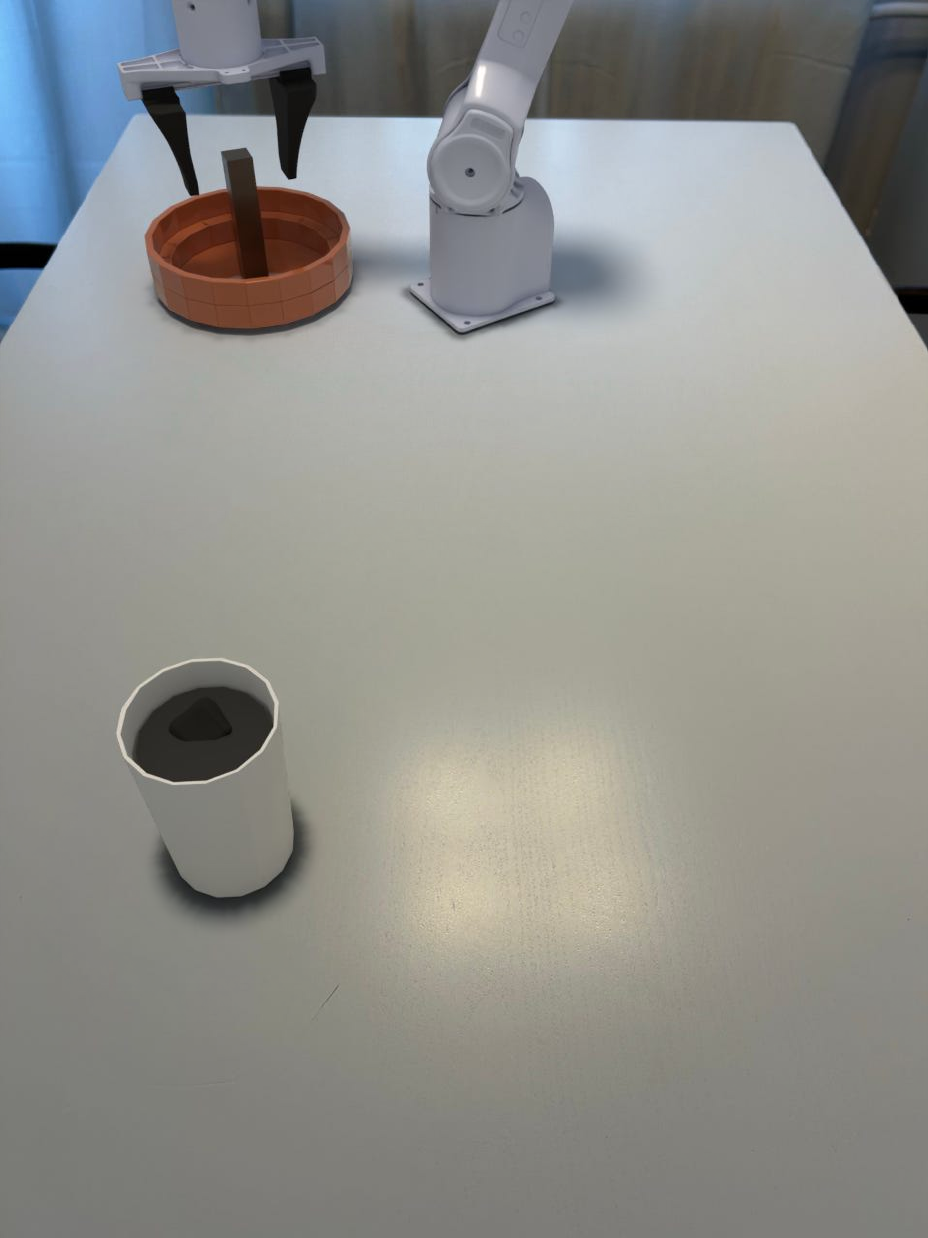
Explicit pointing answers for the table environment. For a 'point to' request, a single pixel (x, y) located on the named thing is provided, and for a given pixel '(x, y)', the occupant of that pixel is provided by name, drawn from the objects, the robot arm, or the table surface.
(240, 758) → the white cup
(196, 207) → the bowl
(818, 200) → the table surface
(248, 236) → the stick
